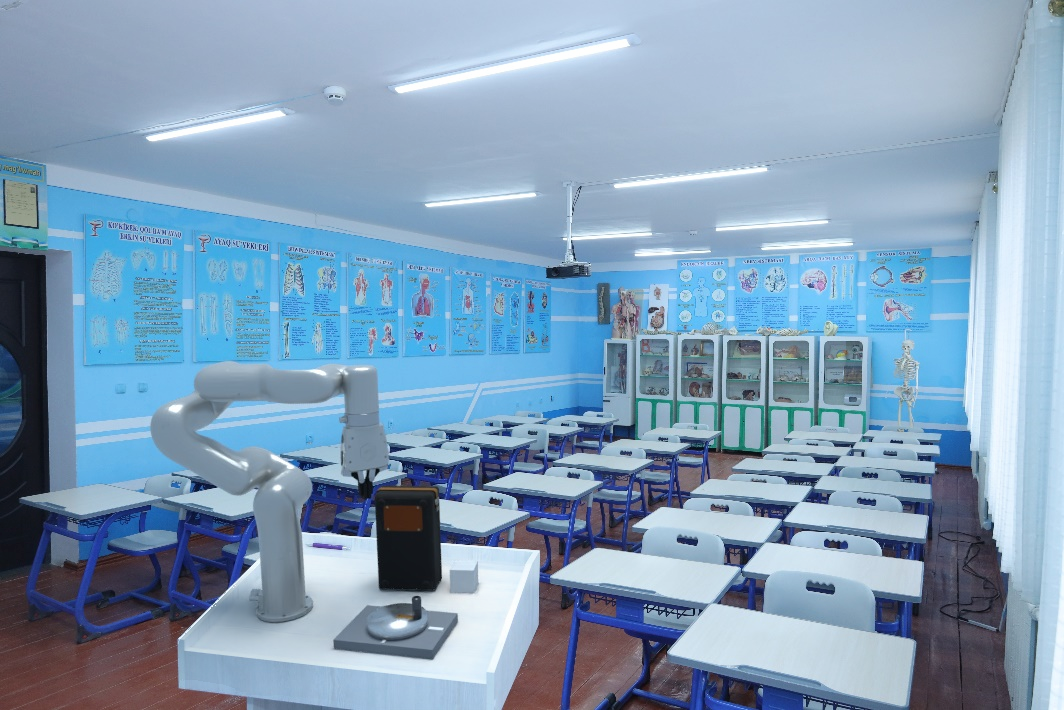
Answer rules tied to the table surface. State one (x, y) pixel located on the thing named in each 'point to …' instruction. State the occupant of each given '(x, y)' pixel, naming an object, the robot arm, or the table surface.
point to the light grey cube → (463, 576)
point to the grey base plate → (414, 646)
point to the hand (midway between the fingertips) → (365, 497)
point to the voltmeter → (408, 537)
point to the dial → (397, 620)
